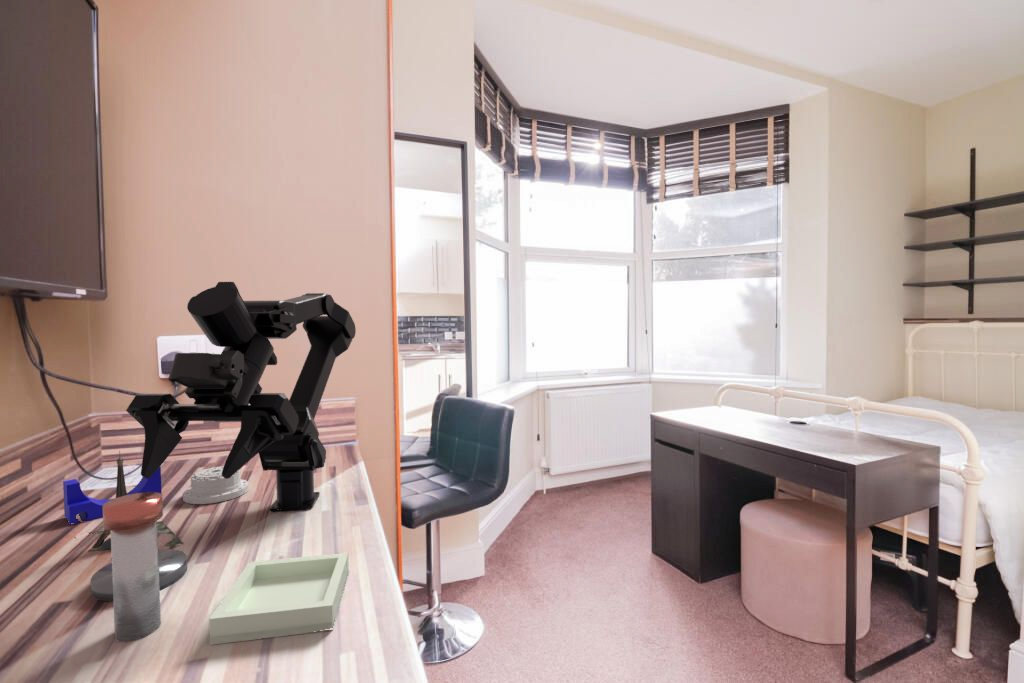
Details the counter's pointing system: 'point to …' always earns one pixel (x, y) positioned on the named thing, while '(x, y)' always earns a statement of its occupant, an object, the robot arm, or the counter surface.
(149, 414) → the robot arm
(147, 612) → the pin
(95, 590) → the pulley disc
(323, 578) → the tray
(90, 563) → the counter surface
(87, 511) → the blue cradle bracket
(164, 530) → the eiffel tower figurine
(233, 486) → the mechanical component
